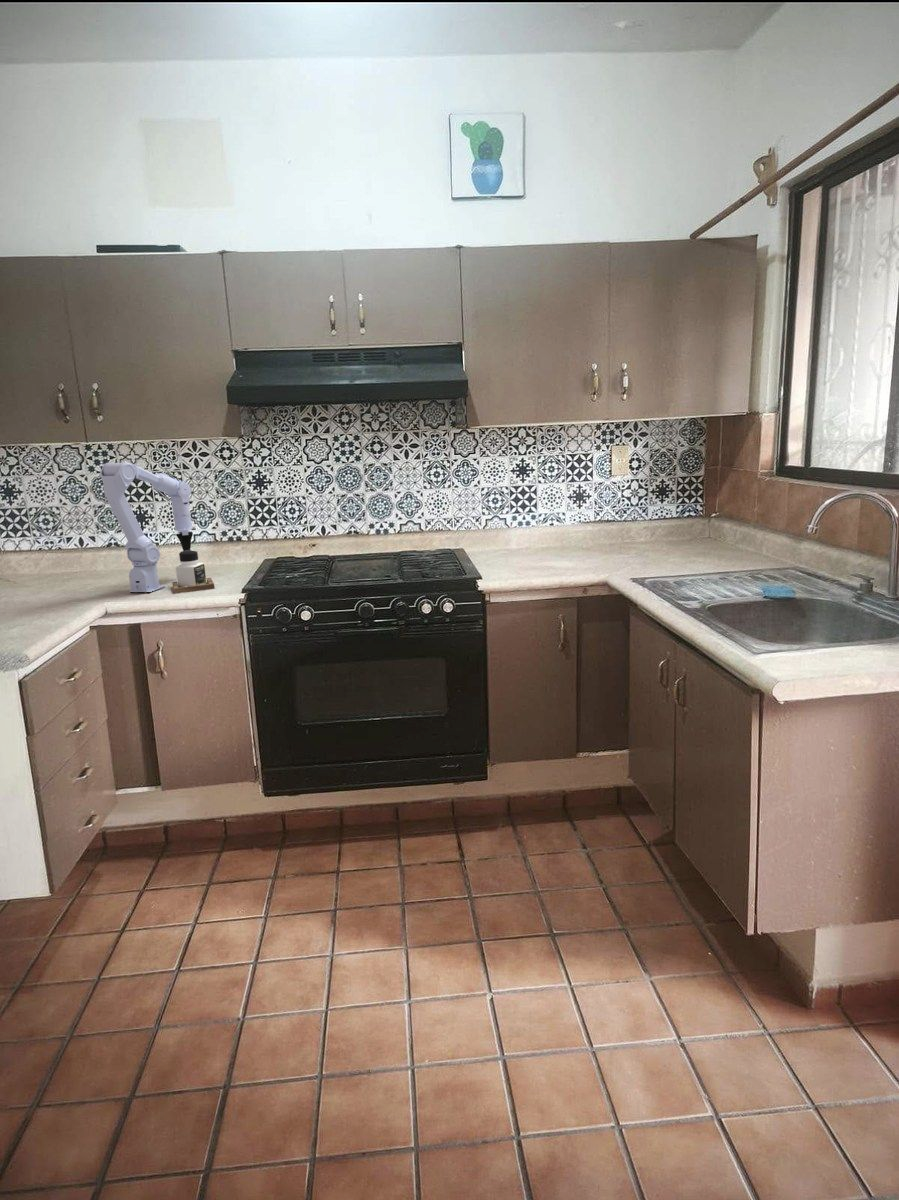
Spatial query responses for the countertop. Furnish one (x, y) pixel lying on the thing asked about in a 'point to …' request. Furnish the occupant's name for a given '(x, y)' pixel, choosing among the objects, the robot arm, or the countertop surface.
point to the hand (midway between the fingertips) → (186, 552)
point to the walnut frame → (193, 587)
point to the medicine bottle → (190, 569)
